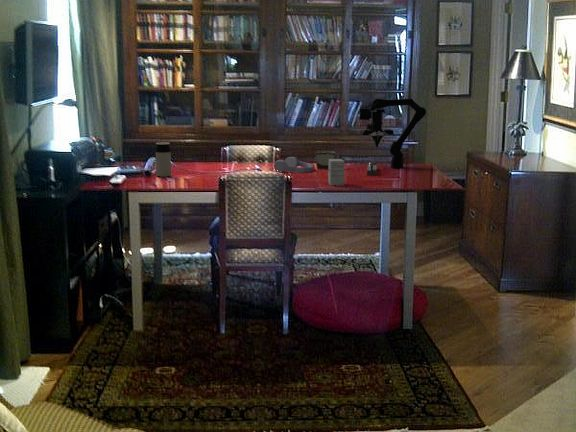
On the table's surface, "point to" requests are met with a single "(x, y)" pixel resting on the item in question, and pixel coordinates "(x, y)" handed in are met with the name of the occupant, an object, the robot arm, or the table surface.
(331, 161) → the supplement box
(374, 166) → the tongs arm
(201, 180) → the table surface
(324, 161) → the food container
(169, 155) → the travel mug
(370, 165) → the tongs base
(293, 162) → the headphones
